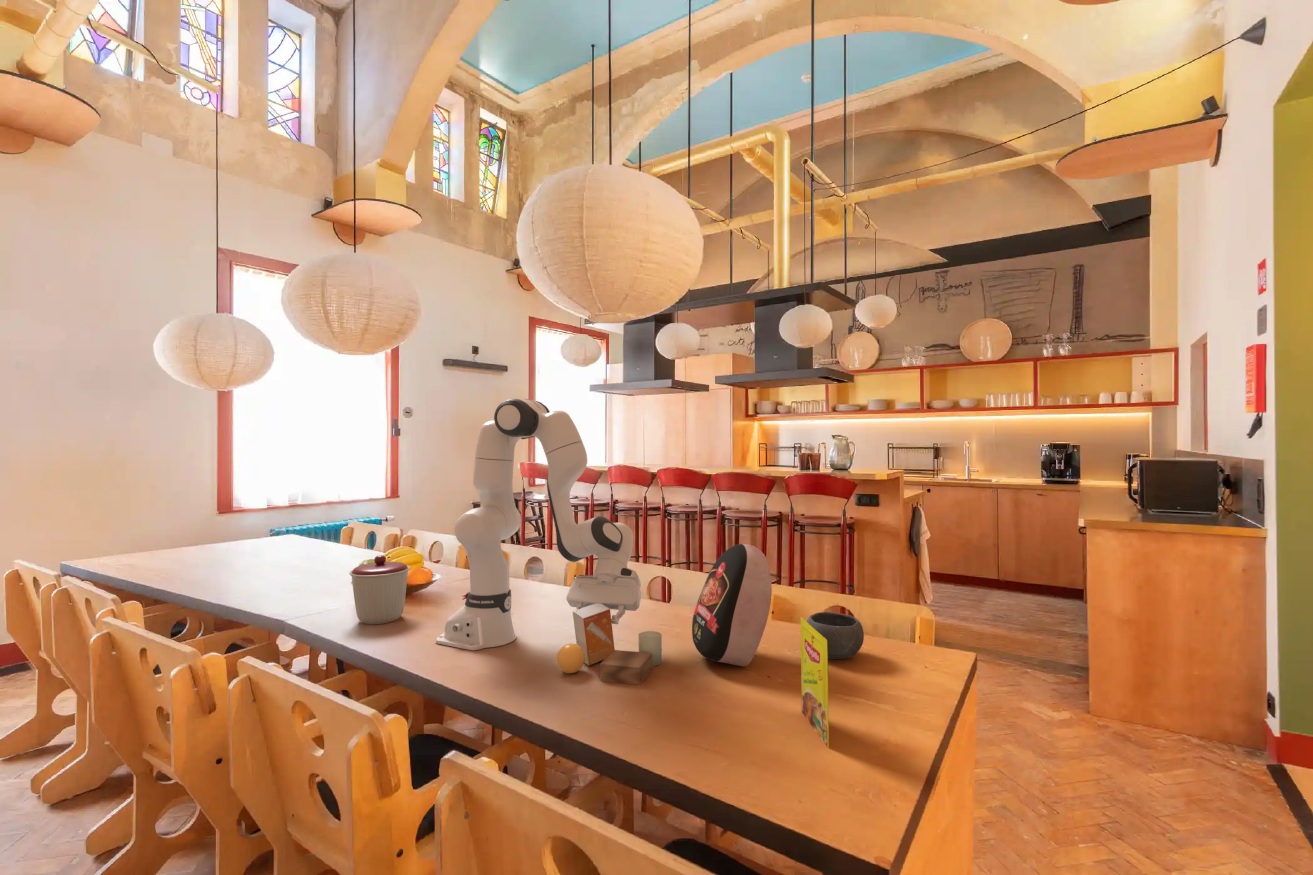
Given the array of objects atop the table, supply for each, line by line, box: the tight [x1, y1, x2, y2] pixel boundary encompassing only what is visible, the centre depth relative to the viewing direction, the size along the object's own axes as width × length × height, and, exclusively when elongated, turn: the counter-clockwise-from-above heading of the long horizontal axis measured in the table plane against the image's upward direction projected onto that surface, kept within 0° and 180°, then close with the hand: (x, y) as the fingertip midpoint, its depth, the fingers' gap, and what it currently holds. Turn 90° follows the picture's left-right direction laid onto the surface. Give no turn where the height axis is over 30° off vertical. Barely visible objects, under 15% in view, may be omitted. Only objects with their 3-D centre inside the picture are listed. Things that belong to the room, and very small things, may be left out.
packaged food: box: [691, 543, 773, 667], centre depth 159 cm, size 22×20×30 cm
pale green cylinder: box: [638, 630, 663, 667], centre depth 157 cm, size 6×6×7 cm
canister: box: [348, 554, 411, 625], centre depth 198 cm, size 18×18×21 cm
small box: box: [572, 603, 616, 666], centre depth 158 cm, size 8×6×13 cm
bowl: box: [806, 611, 865, 660], centre depth 160 cm, size 15×15×10 cm
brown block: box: [599, 649, 653, 686], centre depth 149 cm, size 10×10×4 cm
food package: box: [800, 616, 830, 749], centre depth 120 cm, size 15×1×20 cm, turn 5°
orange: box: [556, 642, 585, 674], centre depth 151 cm, size 7×7×7 cm
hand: (596, 621), depth 159 cm, fingers closed on small box, 8 cm apart
